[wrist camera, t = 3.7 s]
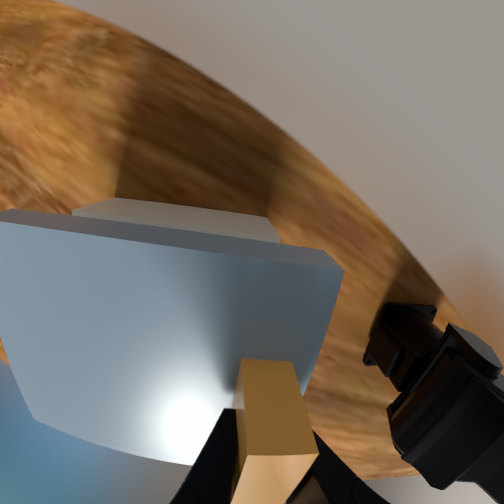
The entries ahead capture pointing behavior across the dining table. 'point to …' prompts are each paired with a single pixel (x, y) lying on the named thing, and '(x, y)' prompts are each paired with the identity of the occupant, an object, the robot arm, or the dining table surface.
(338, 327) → the dining table surface
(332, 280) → the lid
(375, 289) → the dining table surface
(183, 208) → the parts tub
